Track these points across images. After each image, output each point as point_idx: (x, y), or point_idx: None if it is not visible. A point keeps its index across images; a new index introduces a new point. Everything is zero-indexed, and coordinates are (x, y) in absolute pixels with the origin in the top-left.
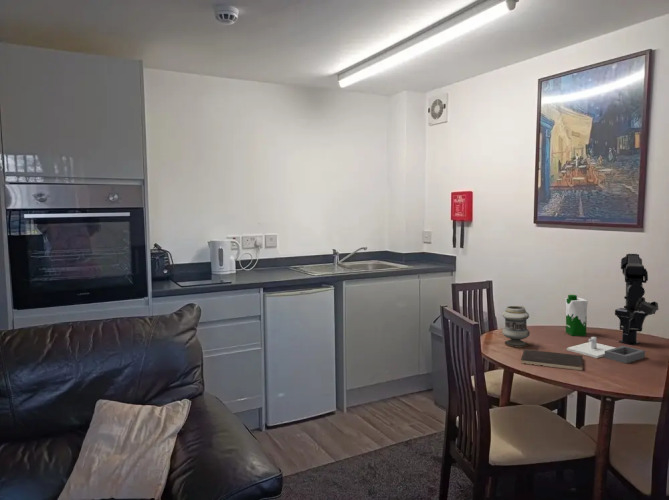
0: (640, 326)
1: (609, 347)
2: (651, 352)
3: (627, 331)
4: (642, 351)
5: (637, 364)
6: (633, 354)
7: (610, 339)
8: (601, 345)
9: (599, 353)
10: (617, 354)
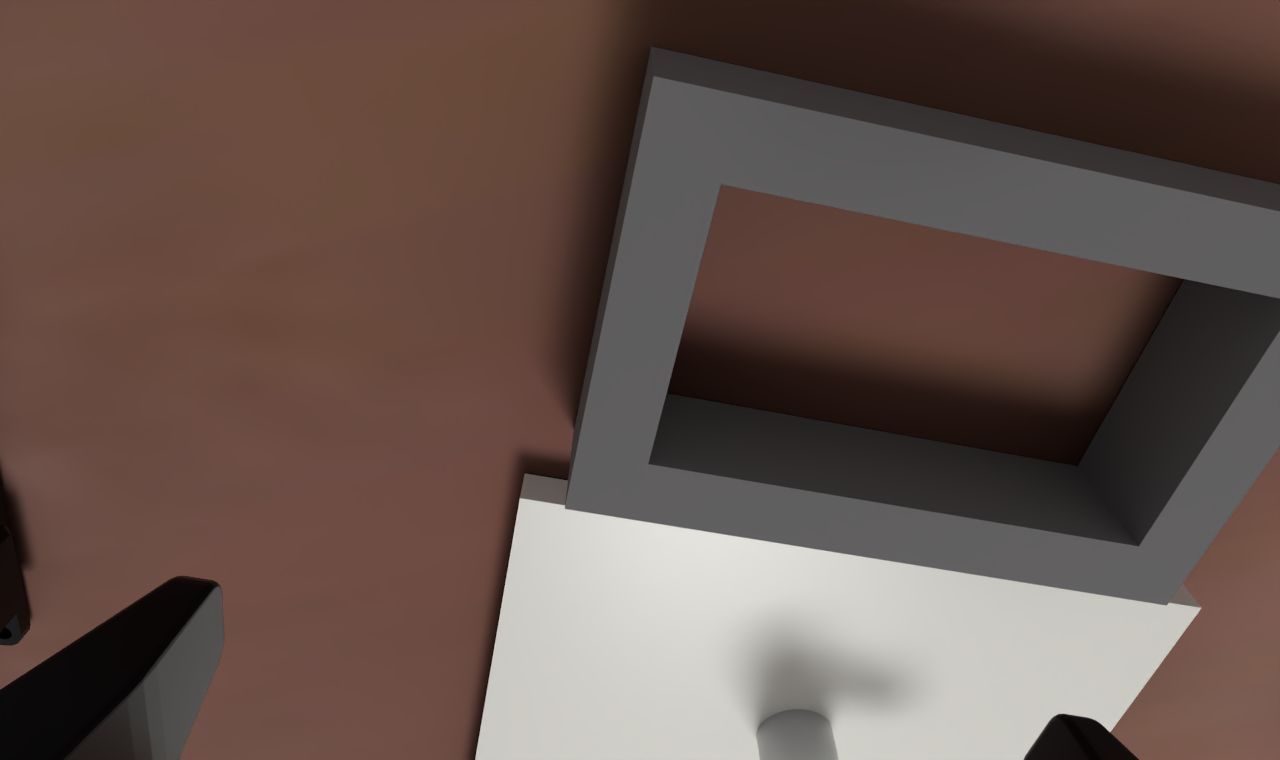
0: (163, 666)
1: (576, 626)
2: (130, 58)
3: (1091, 744)
4: (766, 103)
5: (1270, 10)
6: (1152, 183)
7: None
8: (554, 717)
9: (1037, 622)
10: None
